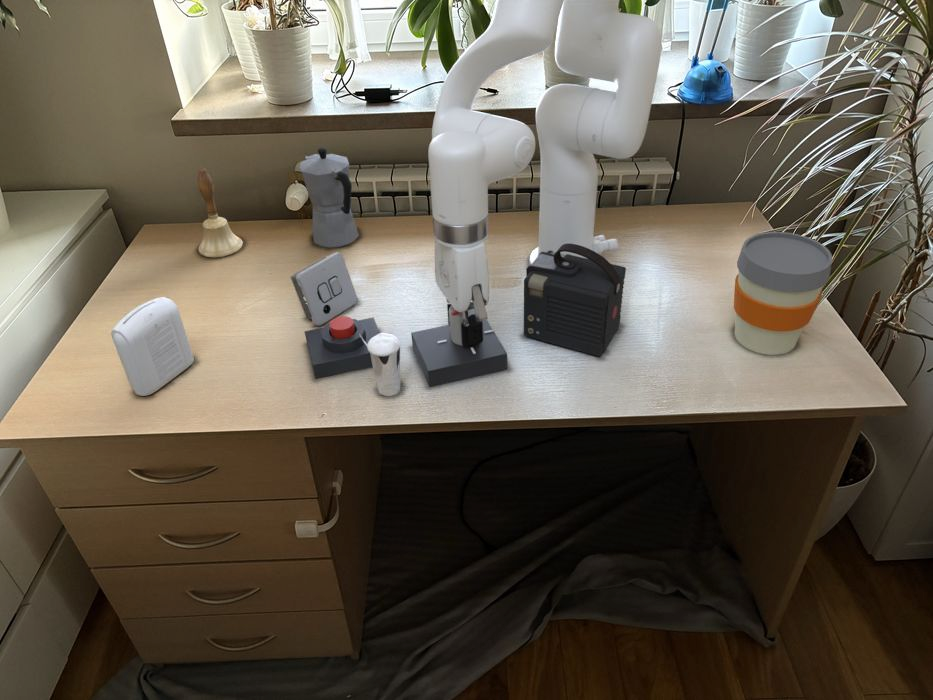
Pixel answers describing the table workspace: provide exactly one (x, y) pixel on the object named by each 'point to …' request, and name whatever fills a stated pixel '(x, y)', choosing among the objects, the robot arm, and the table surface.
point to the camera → (573, 299)
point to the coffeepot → (329, 198)
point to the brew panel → (457, 355)
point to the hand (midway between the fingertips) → (465, 332)
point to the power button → (342, 327)
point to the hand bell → (215, 224)
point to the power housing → (340, 349)
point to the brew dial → (457, 324)
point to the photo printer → (152, 345)
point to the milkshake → (385, 362)
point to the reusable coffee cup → (778, 289)
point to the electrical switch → (325, 289)
